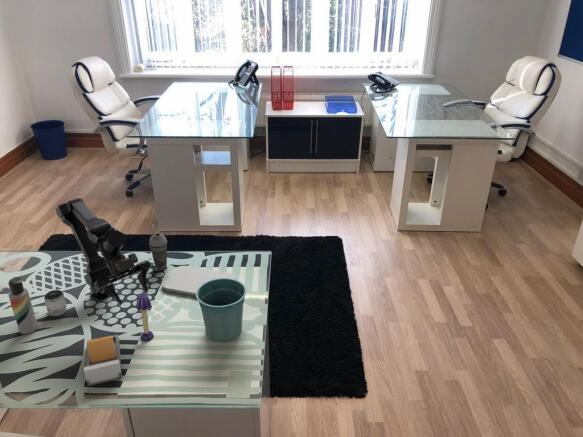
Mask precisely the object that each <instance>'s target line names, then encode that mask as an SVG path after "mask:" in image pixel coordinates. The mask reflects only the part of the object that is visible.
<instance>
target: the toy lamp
mask: <svg viewBox="0 0 583 437" xmlns="http://www.w3.org/2000/svg"><path fill="white" fill-rule="evenodd" d="M151 307H152V302H151V300H150V298H149V296H148V294H147V293H140V294H139V295H137V299H136V303H135V308H136V309H137V310H139V311H141V312H140V313H141V318H142V327H143V328H142V329H143V332H141V334H140V340H141V341H143V342H149V341H151V340H152V339H153V338H154V337H155V336H154V333H153V331H151V330H150V329H149V328H150V326H149V317H148V309H150V308H151Z"/></svg>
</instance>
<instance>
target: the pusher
mask: <svg viewBox="0 0 583 437" xmlns="http://www.w3.org/2000/svg"><path fill="white" fill-rule="evenodd" d="M112 336H113V335H107V336H103V337H97V338H93V339H88V340H86V347H87V346H88V350H89V354H90V359H91V363H95V362H99V361H104V360H108V359H113V358H116V353H115V348H114V343H113V338H112Z"/></svg>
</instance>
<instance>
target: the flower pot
mask: <svg viewBox="0 0 583 437" xmlns="http://www.w3.org/2000/svg"><path fill="white" fill-rule="evenodd" d="M246 295H247V287H246V285H245V284H244V283H243V282H241V281H240V280H238V279H236V280H235V279H231V278H217V279H213V280H210V281H207V282H205V283H204V284H202V285H201V286H200V287H199V288H198V289H197V291H196V296H195V297H196V300H197V301H198V304H199V307H200V309H201V312H202V320H203V323H204V328H205V333H206V335H207V337H209V339H210V340H212V341H216V342H227V341H229V340H234V339H236V338H237V337H238V336H239V335H240V334H241V332H242V330H243V329H242V328H243V318H244V316H243V314H244V312H243V311H244V304H245V297H246Z"/></svg>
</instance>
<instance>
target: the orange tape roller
mask: <svg viewBox="0 0 583 437" xmlns="http://www.w3.org/2000/svg"><path fill="white" fill-rule="evenodd" d="M112 338H113V343H114V348H115V353H116V358H113V359H108V360H104V361H99V362H95V363H91V359H90V354H89V350H88V346H87V345H86V366H84V367H83V372H84V378H85V380H86V386H87V387H91V386H95V385H99V384H103V383H107V382H108V383H109V382H111V381H115V379H116V380H119V379H118V378H120V379H123V374H122V360H121V358H120V357H121V347H120V338H119V334H115V335H112Z"/></svg>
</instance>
